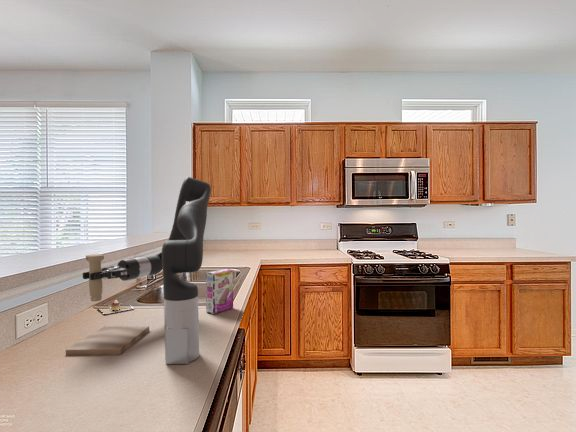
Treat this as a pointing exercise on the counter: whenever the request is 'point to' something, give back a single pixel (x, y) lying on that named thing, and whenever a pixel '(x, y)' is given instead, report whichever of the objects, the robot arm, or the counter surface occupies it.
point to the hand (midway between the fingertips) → (87, 276)
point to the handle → (96, 285)
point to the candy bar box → (219, 291)
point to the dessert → (117, 306)
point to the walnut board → (108, 341)
